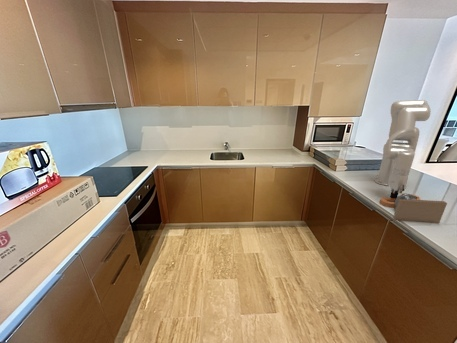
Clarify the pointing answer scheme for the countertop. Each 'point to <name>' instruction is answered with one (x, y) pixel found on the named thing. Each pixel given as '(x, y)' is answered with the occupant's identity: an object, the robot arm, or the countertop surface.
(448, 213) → the countertop surface
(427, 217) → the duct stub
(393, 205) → the bracket
